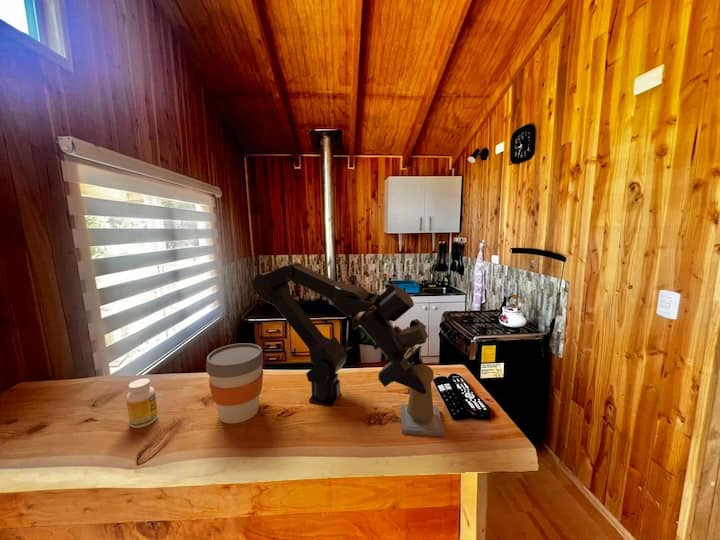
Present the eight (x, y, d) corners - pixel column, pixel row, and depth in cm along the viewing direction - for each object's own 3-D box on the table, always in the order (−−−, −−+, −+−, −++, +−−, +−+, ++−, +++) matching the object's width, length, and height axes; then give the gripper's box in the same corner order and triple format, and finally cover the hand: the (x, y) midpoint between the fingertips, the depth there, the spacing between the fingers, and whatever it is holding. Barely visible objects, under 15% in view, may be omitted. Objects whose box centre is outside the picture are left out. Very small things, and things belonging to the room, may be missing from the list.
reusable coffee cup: (276, 410, 73) (273, 352, 71) (224, 437, 64) (218, 372, 62) (251, 390, 82) (247, 338, 79) (202, 412, 72) (196, 354, 70)
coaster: (402, 433, 65) (402, 429, 65) (400, 408, 74) (400, 404, 74) (444, 436, 64) (444, 431, 64) (437, 410, 73) (437, 406, 73)
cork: (430, 423, 65) (432, 376, 63) (403, 415, 67) (405, 370, 65) (436, 407, 70) (438, 364, 68) (411, 401, 73) (412, 358, 71)
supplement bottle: (133, 417, 71) (127, 379, 69) (159, 411, 73) (155, 374, 71) (127, 431, 66) (121, 391, 64) (156, 424, 68) (151, 385, 67)
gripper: (395, 325, 58) (450, 390, 55) (415, 301, 75) (459, 350, 72) (357, 356, 62) (407, 417, 60) (385, 327, 79) (424, 374, 77)
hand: (427, 386), depth 67 cm, fingers closed on cork, 5 cm apart
